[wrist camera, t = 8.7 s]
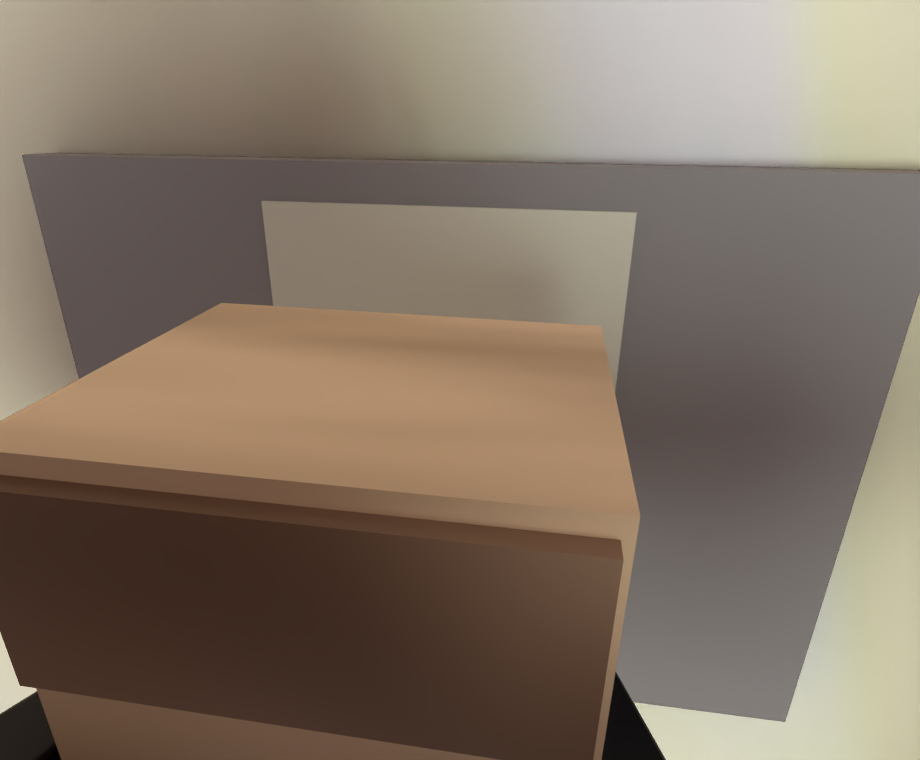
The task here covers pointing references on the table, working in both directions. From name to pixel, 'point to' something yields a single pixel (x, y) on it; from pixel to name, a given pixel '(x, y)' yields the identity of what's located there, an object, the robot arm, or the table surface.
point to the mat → (582, 303)
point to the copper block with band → (323, 541)
